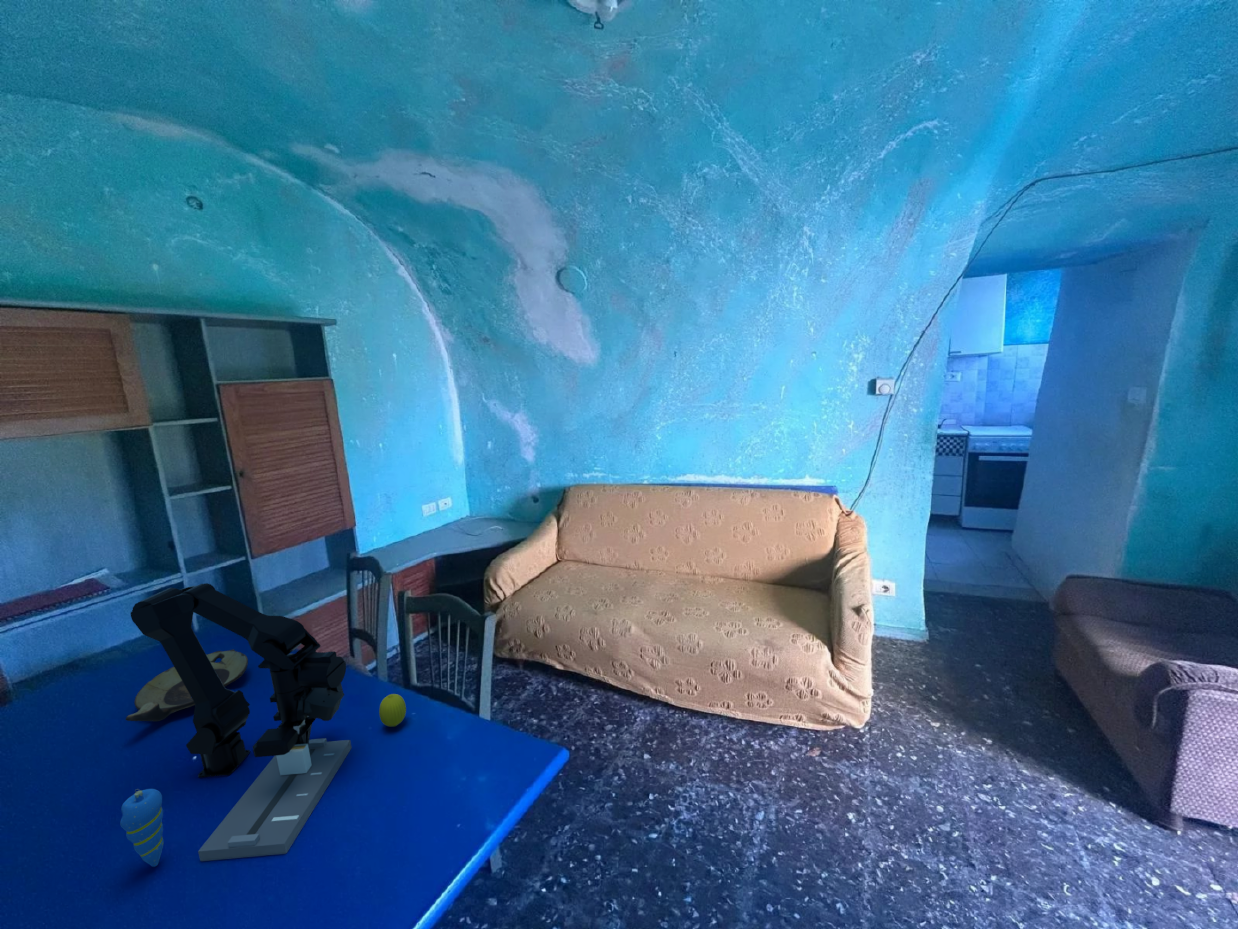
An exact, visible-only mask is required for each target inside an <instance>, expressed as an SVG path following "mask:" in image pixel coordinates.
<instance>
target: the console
mask: <svg viewBox="0 0 1238 929" xmlns="http://www.w3.org/2000/svg"><path fill="white" fill-rule="evenodd" d="M308 748H309V753H310V758H311V764H312V766H311V767H310V769H309V770H308V771H307V773H302V774H290V775H280V772H279V767H278V762H277V757H276V756H272V759H271V760H270V761H269V762H268V763H267V765H266V766H265V767H264V769H263V770H262V771H261V772H260V773H259V774H258V776H257V777H256V778H255V780H254V781H253V782H252V783H251V785H250V786H249V787H248V789H247V790H246V791H245V792H244V794H243V795H242V796H241V797H240V798H239V800H238V801H237V802H236V804H234V806H233V807H232V808H231V810H230V811H229V812H228V814H227V815H226V816H225V817H224V818H223V820H222V821H220V823H219V825H218V826H217V827H216V829H215V830H214V831H213V832H212V834H211V835H210V836H209V837H208V839H207V840H206V841H205V842H204V843H203V844H202V846H201V847H200V848H199V850H198V851H197V853H198V857H199V861H200V862H208V861H219V860H221V861H222V860H228V859H229V860H230V859H240V858H241V859H242V858H252V857H264V856H274V855H285V854H287V853H288V852H289V851H290V848H291V846H292V845H293V844H294V842H295V840H296V839H297V837H298V835H299V833H301V831H302V829H303V828H304V827H305V824H306V822H307V821H308V820H309V817H310V816H311V814H312V813H313V812H314V809H315V808H316V806H317V805H318V804H319V801H321V799H322V796H323V795H324V793H325V792H326V790H327V788H328V786H330V784H331V782H332V781H333V779H334V777H335V775H336V774H337V772H338V770H339V769H340V768H341V766H342V764H343V763H344V761H345V760H346V758H347V756H348V754H350V751H351V750H352V741H351V739H344V740H342V739H341V740H333V741H331V740H329V741H328V740H327V738H326V737H325V738H313V739H309V744H308Z"/></svg>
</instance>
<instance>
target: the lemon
mask: <svg viewBox="0 0 1238 929" xmlns="http://www.w3.org/2000/svg"><path fill="white" fill-rule="evenodd" d="M406 706H407V705H406V702H405V700H404V697H402V696H401V695H400V694H396V693H391V694H388V695H386V697H384V698H383V699H382V700H381V702H380V704H379V709H378V710H379V711H378V713H379V718H380V721H381V723H383V725H384V726H387V727H393V728H394V727H397V726H398V725H399V724H401V723H402V722H403V720H404V719H405V717H406V714H407V707H406Z"/></svg>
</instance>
